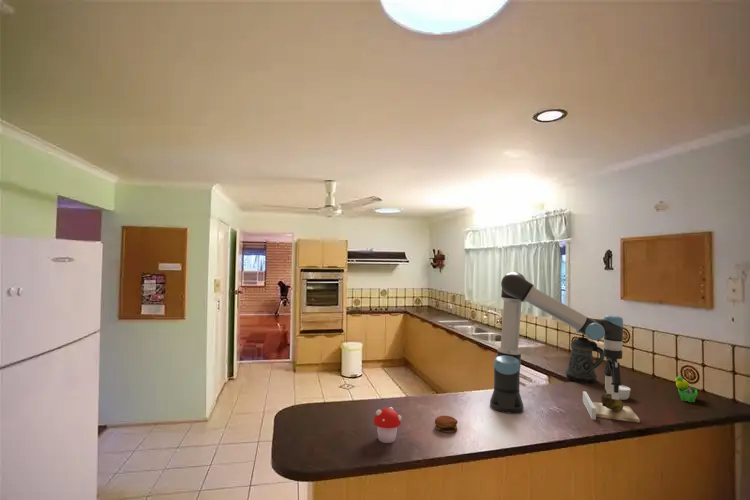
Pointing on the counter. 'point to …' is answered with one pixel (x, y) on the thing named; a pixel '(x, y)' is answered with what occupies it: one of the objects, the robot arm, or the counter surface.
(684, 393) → the fruit basket
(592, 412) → the divider wall
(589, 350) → the beer stein
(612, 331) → the robot arm
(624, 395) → the ramekin
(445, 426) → the burger
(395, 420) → the mushroom
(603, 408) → the cutting board
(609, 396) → the potato
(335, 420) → the counter surface
